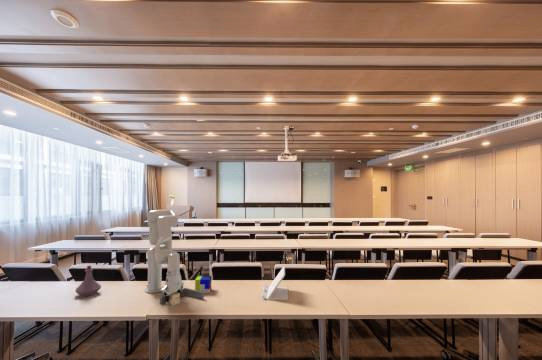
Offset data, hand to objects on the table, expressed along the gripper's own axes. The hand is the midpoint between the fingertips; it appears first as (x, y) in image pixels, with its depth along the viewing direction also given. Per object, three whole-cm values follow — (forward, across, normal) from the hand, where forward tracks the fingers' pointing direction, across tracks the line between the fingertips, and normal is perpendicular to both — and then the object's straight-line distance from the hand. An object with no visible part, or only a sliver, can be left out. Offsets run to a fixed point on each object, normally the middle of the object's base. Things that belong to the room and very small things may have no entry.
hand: (173, 299), depth 184 cm
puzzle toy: (+3, +28, 0) cm, 28 cm away
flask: (+3, -19, +66) cm, 69 cm away
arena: (+3, +6, -2) cm, 7 cm away
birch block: (+2, 0, 0) cm, 3 cm away
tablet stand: (+4, +52, -47) cm, 70 cm away
